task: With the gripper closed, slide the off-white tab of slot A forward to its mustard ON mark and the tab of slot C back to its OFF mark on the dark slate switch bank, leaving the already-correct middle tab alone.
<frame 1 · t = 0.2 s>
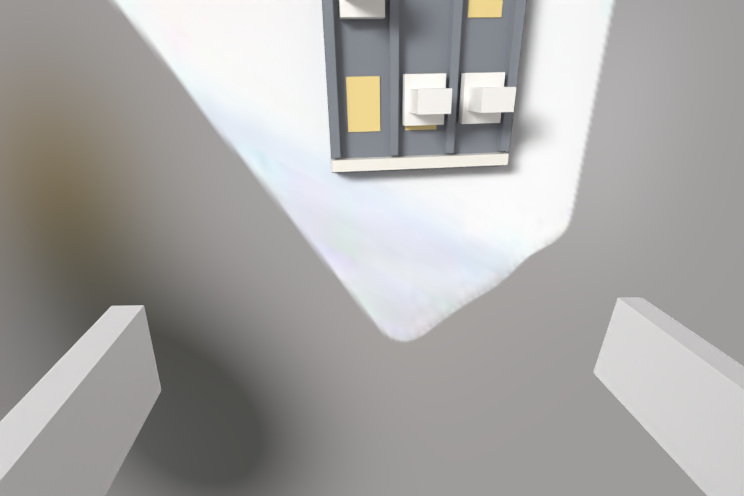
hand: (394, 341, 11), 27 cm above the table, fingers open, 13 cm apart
tab b: (428, 100, 31), point 4 cm above the table, slide at 4.0 cm
switch bank: (419, 48, 33), on the table
tab c: (488, 99, 32), point 4 cm above the table, slide at 4.0 cm
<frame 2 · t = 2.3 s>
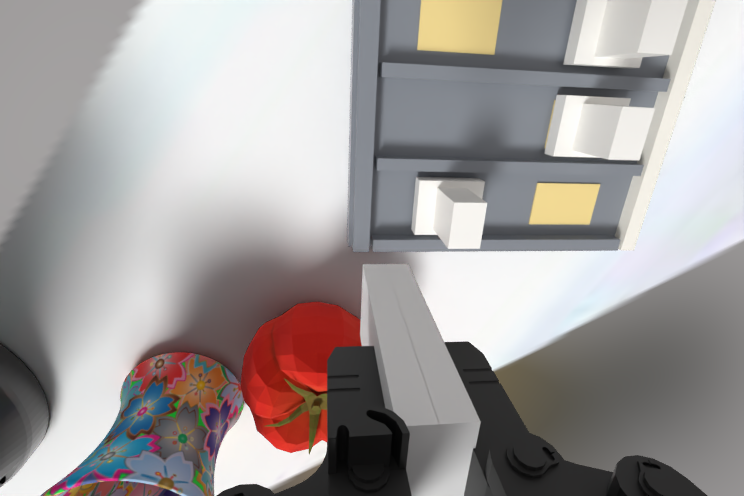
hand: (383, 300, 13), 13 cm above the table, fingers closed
tab b: (603, 129, 22), point 4 cm above the table, slide at 4.0 cm
switch bank: (508, 121, 25), on the table
tomato: (318, 337, 29), on the table
tab a: (454, 214, 23), point 4 cm above the table, slide at -4.0 cm
tab c: (630, 28, 20), point 4 cm above the table, slide at 4.0 cm
mug: (173, 396, 30), on the table
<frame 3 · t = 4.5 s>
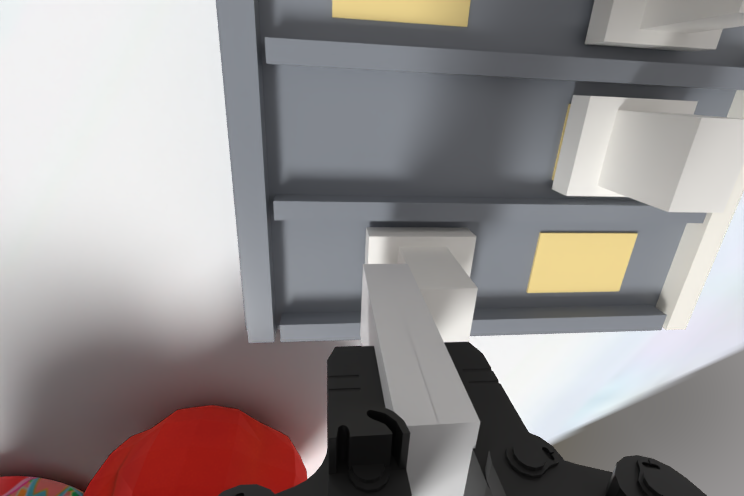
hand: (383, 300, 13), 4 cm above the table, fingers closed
tab b: (654, 155, 13), point 4 cm above the table, slide at 4.0 cm
switch bank: (494, 137, 16), on the table
tomato: (223, 443, 20), on the table
tab a: (426, 292, 14), point 4 cm above the table, slide at -3.2 cm, touching gripper
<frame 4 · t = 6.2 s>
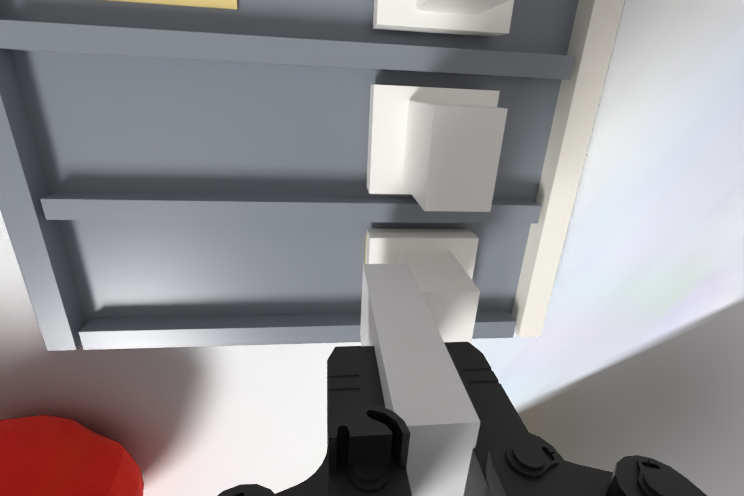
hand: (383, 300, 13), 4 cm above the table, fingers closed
tab b: (441, 149, 12), point 4 cm above the table, slide at 4.0 cm
switch bank: (311, 131, 15), on the table
tomato: (72, 454, 19), on the table
tab a: (428, 294, 14), point 4 cm above the table, slide at 4.1 cm, touching gripper
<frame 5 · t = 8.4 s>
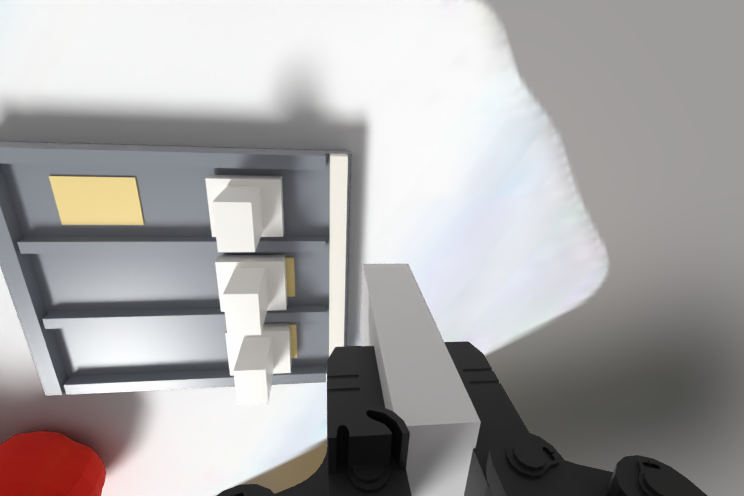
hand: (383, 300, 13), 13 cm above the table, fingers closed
tab b: (249, 295, 23), point 4 cm above the table, slide at 4.0 cm
switch bank: (195, 270, 26), on the table
tomato: (61, 454, 31), on the table
tab a: (256, 364, 25), point 4 cm above the table, slide at 4.1 cm
tab c: (242, 214, 21), point 4 cm above the table, slide at 4.0 cm
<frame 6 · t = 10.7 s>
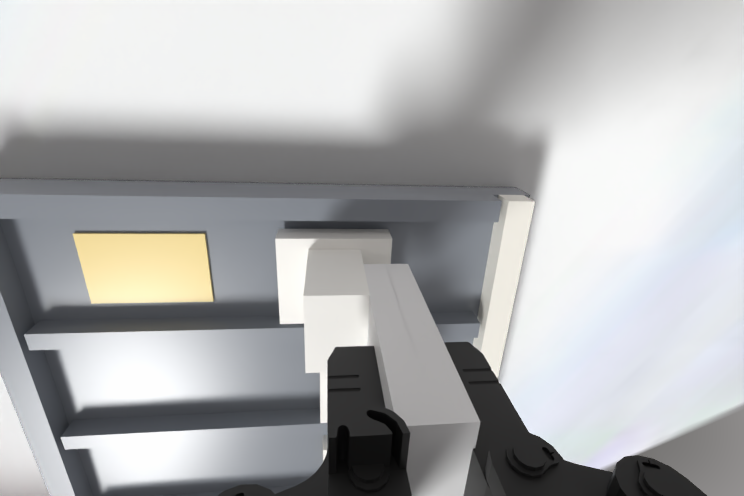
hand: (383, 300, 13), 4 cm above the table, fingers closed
tab b: (371, 410, 15), point 4 cm above the table, slide at 4.0 cm
switch bank: (277, 354, 18), on the table
tab c: (334, 298, 13), point 4 cm above the table, slide at 2.5 cm, touching gripper
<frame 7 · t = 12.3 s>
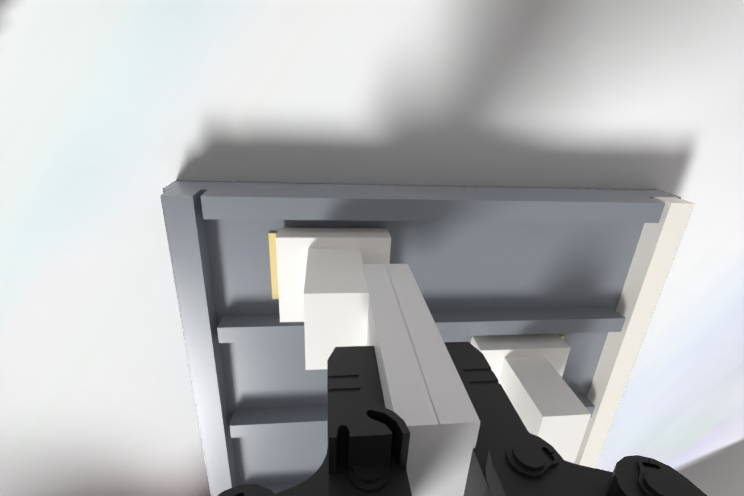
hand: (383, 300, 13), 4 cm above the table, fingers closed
tab b: (530, 399, 16), point 4 cm above the table, slide at 4.0 cm
switch bank: (416, 348, 19), on the table
tab c: (334, 296, 13), point 4 cm above the table, slide at -4.1 cm, touching gripper
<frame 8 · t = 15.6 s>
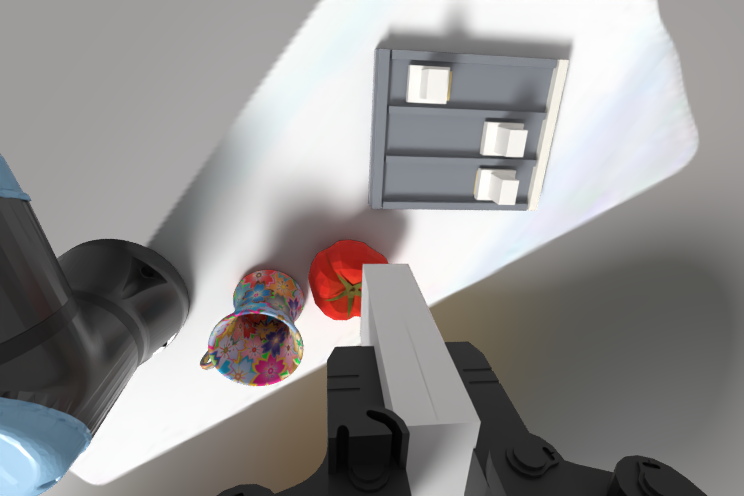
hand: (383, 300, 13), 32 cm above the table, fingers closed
tab b: (507, 140, 41), point 4 cm above the table, slide at 4.0 cm
switch bank: (459, 135, 44), on the table
tomato: (349, 264, 49), on the table
tab a: (500, 187, 43), point 4 cm above the table, slide at 4.1 cm
tab c: (431, 85, 38), point 4 cm above the table, slide at -4.7 cm
mug: (260, 301, 49), on the table
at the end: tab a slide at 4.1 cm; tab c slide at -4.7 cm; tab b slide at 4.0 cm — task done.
